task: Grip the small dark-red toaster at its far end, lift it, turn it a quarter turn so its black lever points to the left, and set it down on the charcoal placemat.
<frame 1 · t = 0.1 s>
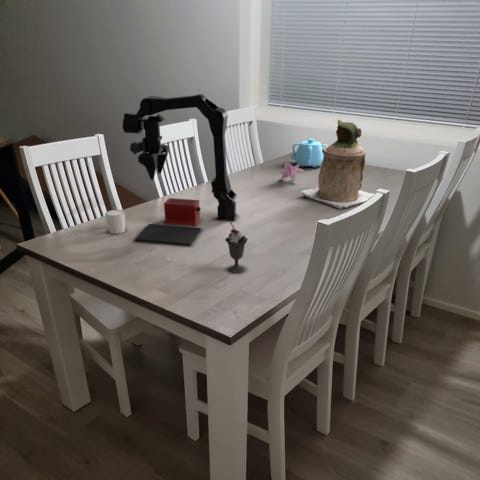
hand: (155, 176, 185), 15 cm above the table, tool pointing down, fingers open, 9 cm apart
placemat: (169, 235, 172), on the table
shot glass: (117, 231, 176), on the table
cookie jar: (338, 198, 212), on the table
toaster: (182, 221, 184), on the table
sundae: (236, 270, 150), on the table
decorative pot: (308, 165, 259), on the table
lily: (290, 182, 232), on the table
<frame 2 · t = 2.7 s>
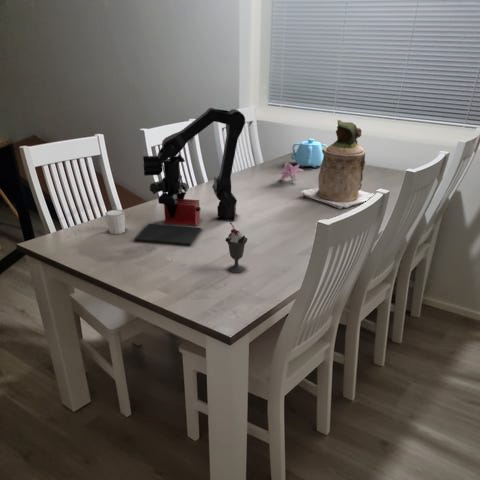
hand: (175, 215, 184), 3 cm above the table, tool pointing down, fingers closed on toaster, 6 cm apart
toaster: (182, 221, 184), on the table, touching gripper
everything else where it was.
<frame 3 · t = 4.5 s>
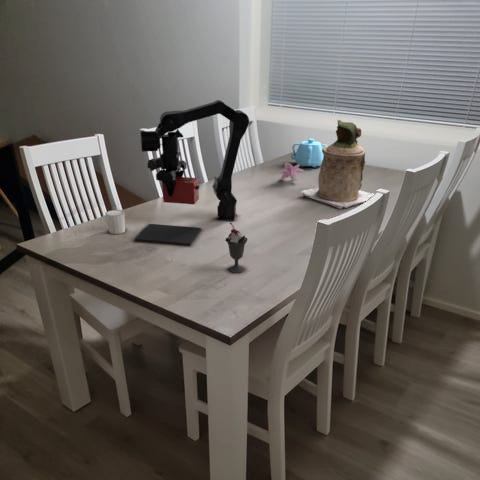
hand: (173, 193, 179), 11 cm above the table, tool pointing down, fingers closed on toaster, 6 cm apart
toaster: (181, 200, 180), point 8 cm above the table, touching gripper
everything else where it was.
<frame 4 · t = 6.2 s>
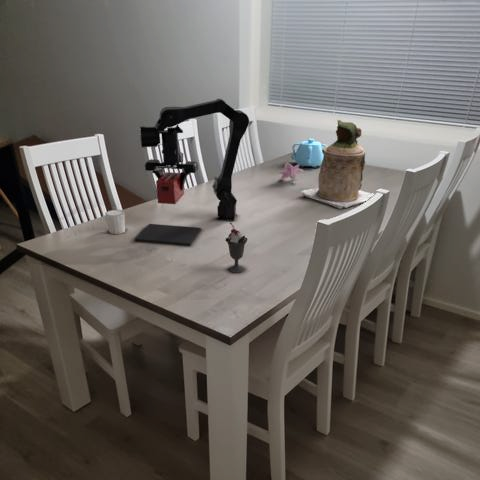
hand: (173, 189, 178), 12 cm above the table, tool pointing down, fingers closed on toaster, 6 cm apart
toaster: (171, 198, 177), point 10 cm above the table, touching gripper
everything else where it was.
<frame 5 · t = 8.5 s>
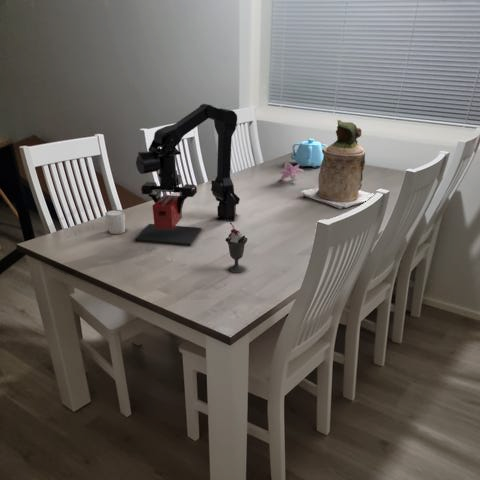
hand: (170, 212, 172), 7 cm above the table, tool pointing down, fingers closed on toaster, 6 cm apart
toaster: (168, 222, 170), point 5 cm above the table, touching gripper
everything else where it was.
when the fingers open (4 cm above the table, at t = 9.9 s): toaster stays where it is, resting on placemat.
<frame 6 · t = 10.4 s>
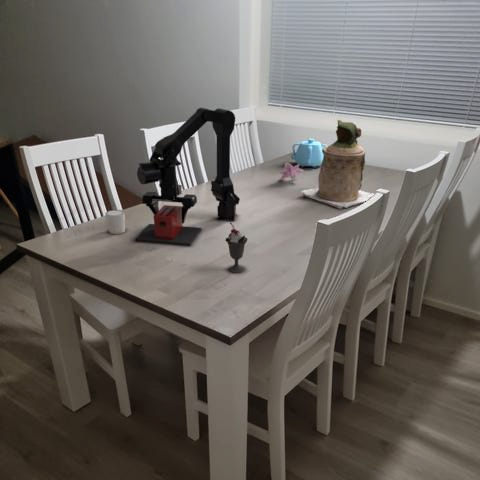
hand: (171, 222, 173), 4 cm above the table, tool pointing down, fingers open, 9 cm apart
toaster: (169, 232, 172), point 1 cm above the table, touching placemat
everything else where it was.
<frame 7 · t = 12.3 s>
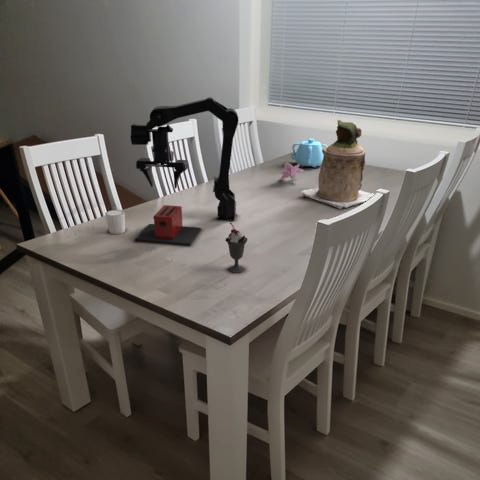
hand: (164, 187, 181), 12 cm above the table, tool pointing down, fingers open, 9 cm apart
nothing on the table moved.
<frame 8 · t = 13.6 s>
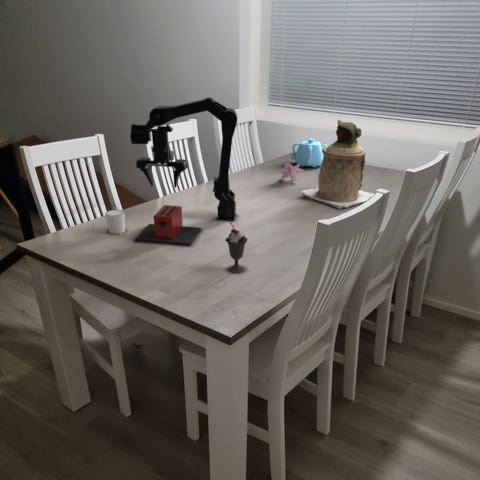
hand: (163, 186, 183), 12 cm above the table, tool pointing down, fingers open, 9 cm apart
nothing on the table moved.
at the end: toaster 0.1 cm from the target spot, point 1.0 cm above the table; toaster tilted 0°; toaster touching placemat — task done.
